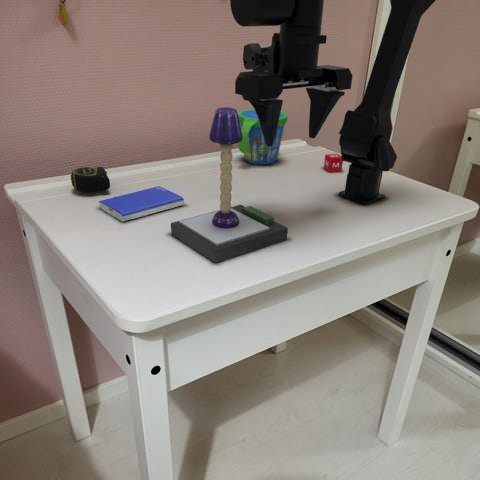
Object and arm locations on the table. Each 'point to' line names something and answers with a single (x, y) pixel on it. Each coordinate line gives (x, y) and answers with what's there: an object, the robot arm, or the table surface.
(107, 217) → the table surface
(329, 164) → the dice
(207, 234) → the scale
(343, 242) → the table surface
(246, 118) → the snack cup
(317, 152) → the table surface
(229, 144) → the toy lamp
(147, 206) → the hard drive
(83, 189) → the tape measure
